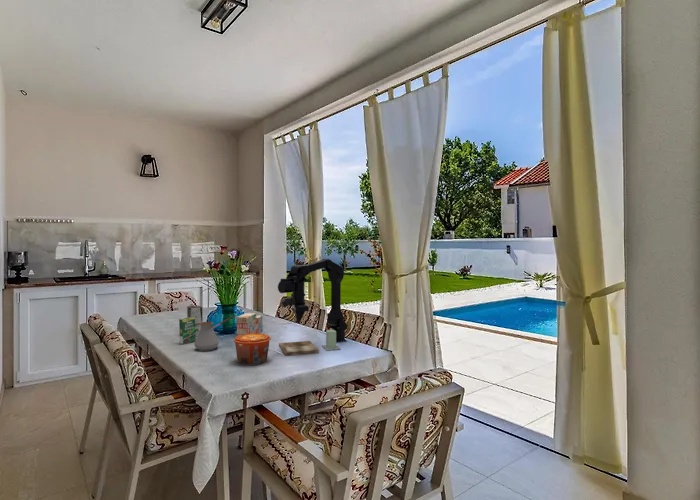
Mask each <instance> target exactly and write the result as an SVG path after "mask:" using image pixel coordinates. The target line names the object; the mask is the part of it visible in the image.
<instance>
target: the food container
mask: <svg viewBox="0 0 700 500" xmlns="http://www.w3.org/2000/svg"><path fill="white" fill-rule="evenodd" d="M271 339H272V337H270V335H269V334H265V333H261V332H260V333H257V334H254V333H251V334H245V335H239V336H237V335H236V336H235V338H234V339H233V342H234V343H235V350H236V351H235V352H236V360H237V363H239V364H241V365H244V366H245V365H249V366H250V365H251V366H253V365H259V364H263V363H264V364H265V362H267V361H268V355H269V349H270V347H269V346H270V341H271Z"/></svg>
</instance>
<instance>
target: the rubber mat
mask: <svg viewBox="0 0 700 500" xmlns="http://www.w3.org/2000/svg"><path fill="white" fill-rule="evenodd" d="M321 347H322V348H323V350H325V351H326V352H331V350H332V351H341V348H340V346H338V345H337V344H336V348H328V347H326V344H322V345H321Z"/></svg>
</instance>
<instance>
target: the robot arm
mask: <svg viewBox="0 0 700 500" xmlns="http://www.w3.org/2000/svg"><path fill="white" fill-rule="evenodd" d="M319 270H324V271H326V272H327V277H328V279H329V281H330V282H331V284H330V288H331V289H330V291H331V292H330V299H331V300H330V308H331V309H330V311H329V312H327V313H326V316H327V317H326V321H327V324H328V325H329V328H330V329H331V330H335V331H336V343H337V342H338V341H340V342H347V340H346V330H348V326H349V325H348V324H347V323H346V322H345V320H344V314H343V311H342V310H341V302H342V301H341V299H342V298H341V289H342V288H341V286H342V285H341V284H342V282H343V279H344V277H345V268H343V267H342V266H341V265H339V264H337V262H334V261H333V260H331V259H330V258H323V259H320V260H317V261H313V262H311V263H308V264H296V265H292V266H291V267H290V270H289V272H288V273H287V276H286V278H280V281H279V282H278V284H277V290H278V292H279V293H280V294H285V293H286V294H287V293H291V294H290V296H288V297H285V298H283V299H280V303H281V306H282V307H283V308H284V309H285V308H287V307H292V308H291V309H290V310H292V311H293V312H294V314H295V315H294V316H295V320H296V323H297V324H301V323H302V322H301V321H302V319H303V317H304V314H305V312H309V305H307V304H306V301H305V297H306V293H305V282H309V279H307V278H306V277H307V276H309V275H310V273H313V272H315V271H319Z"/></svg>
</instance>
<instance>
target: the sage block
mask: <svg viewBox="0 0 700 500" xmlns="http://www.w3.org/2000/svg"><path fill="white" fill-rule="evenodd" d="M325 340H326V341H325V345H326V347H328V348H336V345H337V342H336V331H335V330H332V329H327V330H326V331H325Z"/></svg>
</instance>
